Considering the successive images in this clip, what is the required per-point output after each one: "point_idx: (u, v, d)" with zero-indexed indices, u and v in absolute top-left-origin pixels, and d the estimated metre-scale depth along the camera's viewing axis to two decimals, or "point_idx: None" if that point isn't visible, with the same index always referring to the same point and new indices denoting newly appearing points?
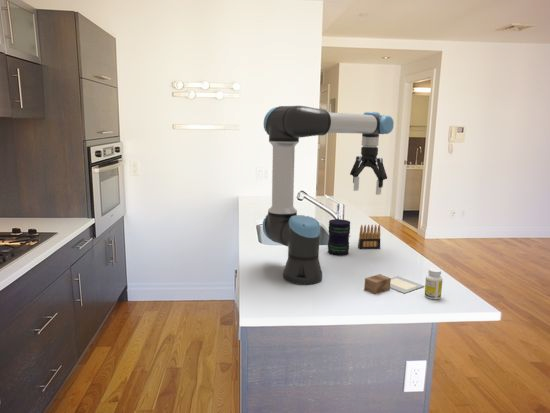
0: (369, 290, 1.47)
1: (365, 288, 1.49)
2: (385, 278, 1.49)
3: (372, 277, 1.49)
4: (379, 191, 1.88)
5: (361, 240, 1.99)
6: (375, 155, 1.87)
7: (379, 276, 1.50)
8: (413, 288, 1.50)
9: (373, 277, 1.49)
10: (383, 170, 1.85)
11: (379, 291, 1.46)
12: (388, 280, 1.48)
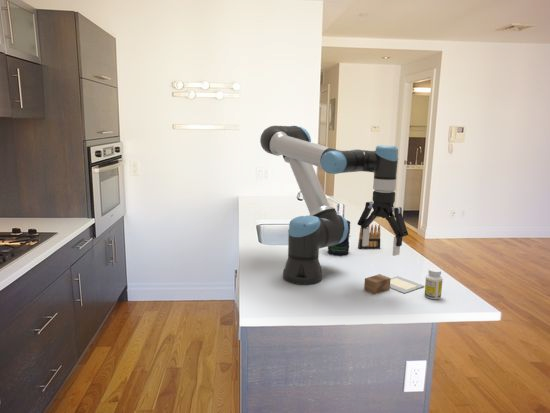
0: (369, 290, 1.47)
1: (365, 288, 1.49)
2: (385, 278, 1.49)
3: (372, 277, 1.49)
4: (397, 251, 1.41)
5: (361, 240, 1.99)
6: (391, 203, 1.41)
7: (379, 276, 1.50)
8: (413, 288, 1.50)
9: (373, 277, 1.49)
10: (403, 224, 1.38)
11: (379, 291, 1.46)
12: (388, 280, 1.48)
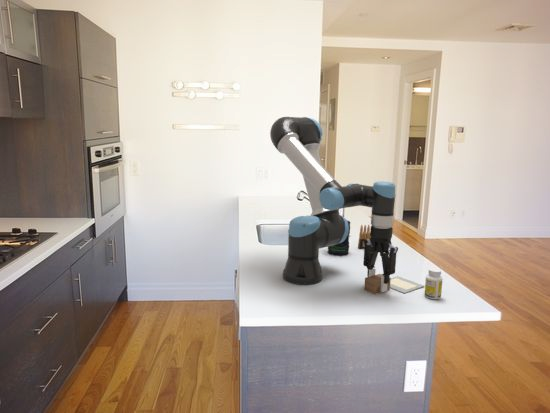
0: (369, 290, 1.47)
1: (365, 288, 1.48)
2: None
3: (372, 277, 1.49)
4: (385, 287, 1.47)
5: (361, 240, 1.99)
6: (389, 239, 1.43)
7: (379, 276, 1.50)
8: (413, 288, 1.50)
9: (373, 277, 1.49)
10: (393, 263, 1.43)
11: (379, 291, 1.46)
12: None
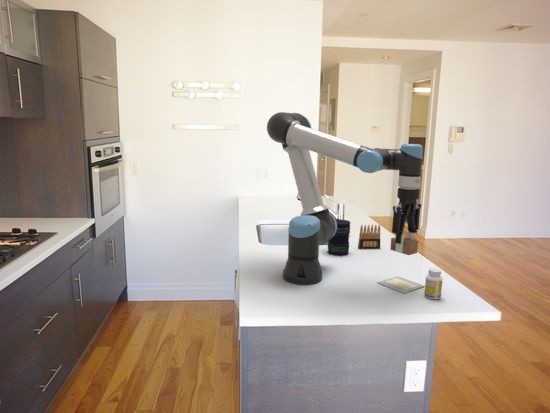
0: None
1: None
2: (406, 241, 1.48)
3: (404, 238, 1.53)
4: (399, 248, 1.49)
5: (361, 240, 1.99)
6: (401, 199, 1.46)
7: (409, 240, 1.50)
8: (413, 288, 1.50)
9: (405, 238, 1.52)
10: (395, 223, 1.46)
11: None
12: (406, 244, 1.47)
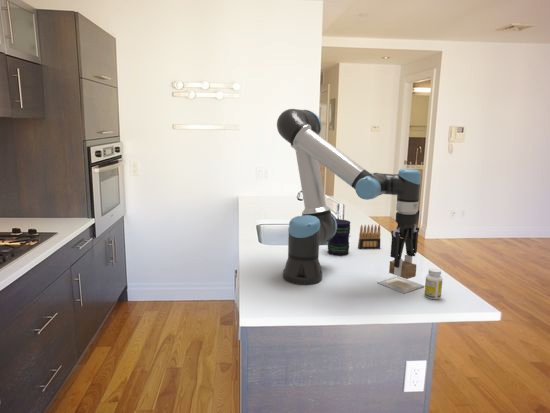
0: None
1: None
2: (405, 265, 1.50)
3: (403, 261, 1.54)
4: (397, 272, 1.51)
5: (361, 240, 1.99)
6: (399, 223, 1.48)
7: (407, 263, 1.52)
8: (413, 288, 1.50)
9: (404, 261, 1.54)
10: (394, 247, 1.48)
11: None
12: (405, 268, 1.49)
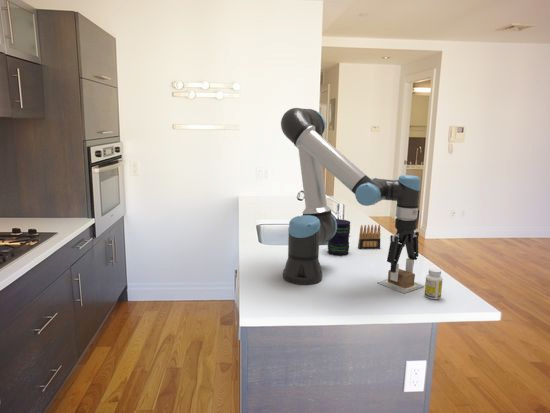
0: None
1: None
2: (403, 274, 1.51)
3: (401, 270, 1.55)
4: (393, 277, 1.51)
5: (361, 240, 1.99)
6: (398, 229, 1.48)
7: (406, 273, 1.52)
8: (413, 288, 1.50)
9: (402, 271, 1.55)
10: (391, 252, 1.47)
11: (392, 281, 1.54)
12: (403, 277, 1.50)
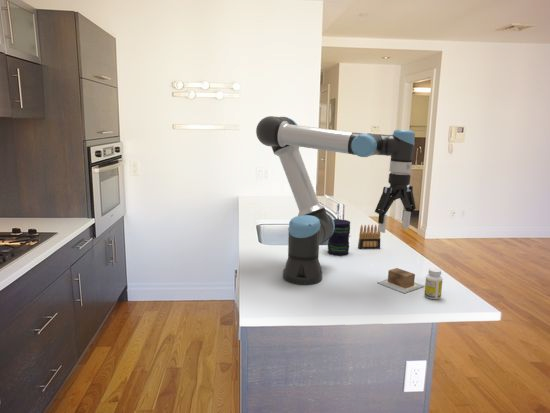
0: None
1: None
2: (403, 274, 1.51)
3: (401, 270, 1.55)
4: (381, 228, 1.50)
5: (361, 240, 1.99)
6: (391, 184, 1.49)
7: (406, 273, 1.52)
8: (413, 288, 1.50)
9: (402, 271, 1.55)
10: (381, 202, 1.47)
11: (392, 281, 1.54)
12: (403, 277, 1.50)
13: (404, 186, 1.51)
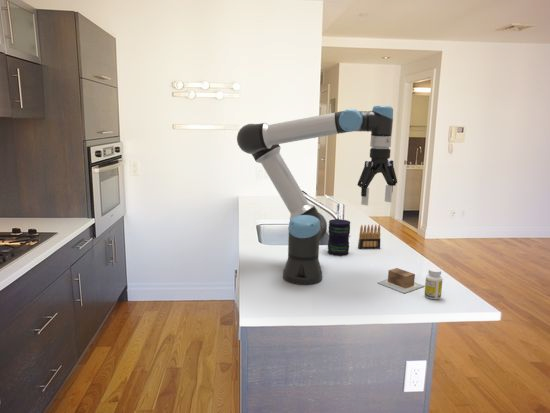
0: None
1: None
2: (403, 274, 1.51)
3: (401, 270, 1.55)
4: (364, 201, 1.55)
5: (361, 240, 1.99)
6: (372, 158, 1.55)
7: (406, 273, 1.52)
8: (413, 288, 1.50)
9: (402, 271, 1.55)
10: (363, 175, 1.53)
11: (392, 281, 1.54)
12: (403, 277, 1.50)
13: (385, 160, 1.57)
